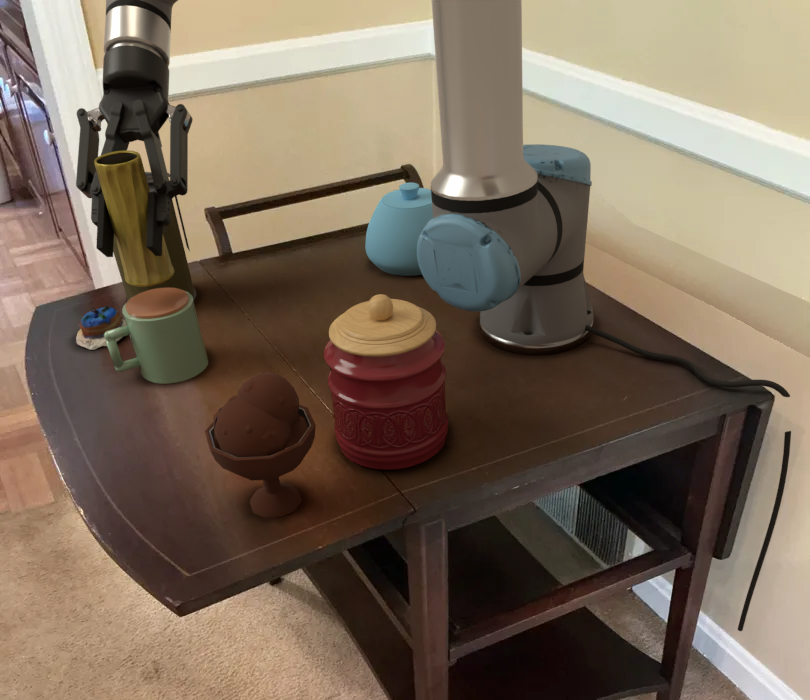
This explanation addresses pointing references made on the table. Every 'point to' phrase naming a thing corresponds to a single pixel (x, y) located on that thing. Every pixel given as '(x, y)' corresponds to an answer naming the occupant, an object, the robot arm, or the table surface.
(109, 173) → the vase
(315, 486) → the table surface
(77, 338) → the dessert
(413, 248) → the sugar bowl
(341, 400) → the kitchen canister
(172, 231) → the canister
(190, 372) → the mug
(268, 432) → the ice cream bowl
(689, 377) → the table surface
